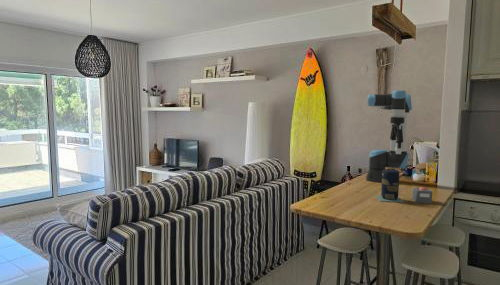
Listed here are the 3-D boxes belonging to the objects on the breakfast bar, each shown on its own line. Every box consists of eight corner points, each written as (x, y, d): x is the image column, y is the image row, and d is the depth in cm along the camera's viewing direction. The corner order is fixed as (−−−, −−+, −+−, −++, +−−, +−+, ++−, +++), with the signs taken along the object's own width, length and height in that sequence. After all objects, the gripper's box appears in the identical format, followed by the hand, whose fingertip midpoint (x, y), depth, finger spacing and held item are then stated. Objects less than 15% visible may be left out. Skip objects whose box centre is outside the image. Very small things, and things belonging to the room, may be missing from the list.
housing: (412, 199, 203) (413, 187, 203) (426, 199, 202) (427, 188, 201) (416, 202, 195) (417, 190, 194) (431, 203, 194) (432, 191, 193)
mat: (375, 196, 208) (375, 195, 208) (398, 197, 206) (398, 196, 206) (380, 201, 197) (380, 200, 197) (403, 202, 195) (403, 201, 194)
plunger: (417, 198, 201) (418, 186, 200) (424, 198, 200) (424, 187, 199) (419, 200, 197) (420, 188, 196) (426, 200, 196) (427, 188, 196)
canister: (399, 201, 196) (401, 170, 194) (382, 199, 198) (384, 169, 196) (396, 196, 205) (397, 167, 204) (379, 195, 207) (381, 166, 206)
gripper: (386, 115, 214) (384, 149, 216) (396, 117, 189) (394, 155, 192) (398, 116, 213) (396, 149, 215) (410, 117, 188) (408, 155, 191)
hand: (395, 152), depth 203 cm, fingers open, 13 cm apart
